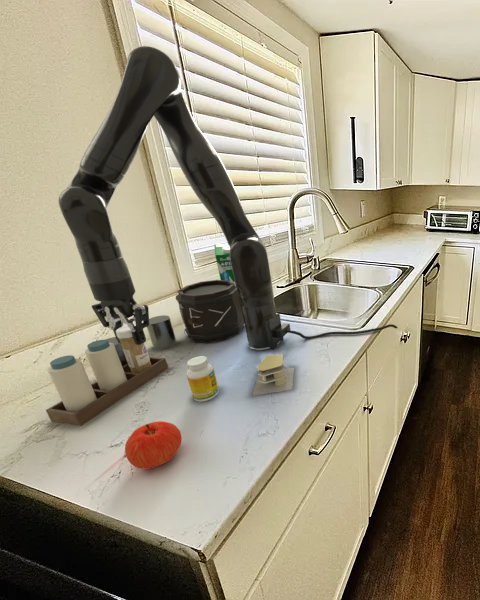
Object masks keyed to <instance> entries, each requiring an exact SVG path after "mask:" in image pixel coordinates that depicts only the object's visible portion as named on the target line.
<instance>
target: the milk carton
mask: <svg viewBox="0 0 480 600" xmlns="http://www.w3.org/2000/svg"><path fill="white" fill-rule="evenodd" d="M213 246H214V247H213V248H214V256H215V260H216V261H215V262H216V266H217V270H218V274H219V278H220V279H219V280H228V281H231V282H232V283H234V285H235V286H236V284H235V280H234V275H233V271H232V266H231V261H230V247H229V244H228V242H227V243H217V244H214V245H213Z"/></svg>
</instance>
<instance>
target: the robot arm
mask: <svg viewBox="0 0 480 600" xmlns="http://www.w3.org/2000/svg"><path fill="white" fill-rule="evenodd" d="M180 76H181V75H180V73H179V70H178V67H177V66H176V64H175V63H174V61H173V60H172V58H170V56H168V54H166V53H165V52H163V51H162V50H161V49H158V48H156V47H154V46H150V45H149V46H148V45H143V46H142V45H141V46H138V47H135V48H134V49H132V50H131V51H130V52H129V53H128V56H127V59H126V64H125V68H124V72H123V76H122V79H121V82H120V85H119V88H118V91H117V93H116V96H115V98H114V100H113V102H112V105H111V107H110V108H109V110H108V112H107V114H106V116H105V117H104V118H103V121H102V122H101V124H100V126H99V128H98V129H97V131H96V133H95V134H94V136H93V137H92V139H91V141H90V143H89V144H88V146H87V148H86V150H85V151H84V152H83V155H82V157H81V158H80V162H79V166H78V169H77V171H76V173H75V175H74V176H73V178H72V179H71V181H70V182H69V184H68V185H67V187H66V189H64V190H62V191H61V192H60V194H59V196H58V200H57V201H58V206H59V209H60V212H61V215H62V217H63V219H64V221H65V223H66V225H67V227H68V229H69V230H70V232H71V234H72V237H73V238H74V242H75V246H76V249H77V252H78V255H79V257H80V260H81V262H82V267H83V272H84V274H85V277H86V280H87V282H88V286H89V288H90V291H91V293H92V296H93V298H94V300H95V301H97V302H98V303H95V304H92V305H91V309H92V310H93V312H94V313H95V316H97V319H98V320H99V321H100V324H101V325H102V326H103V327H104V328H109V329H110V330H111V331H112V332H113V334H114V337H116V339H117V341H118V343H121V342H120V340H119V338H118V337H117V334H116V330H117V329H118V328H120V327H123V326H124V325H128V326H129V328H130V330H131V331H132V332H131V333H132V335H133V338H134V341H135V344H136V345H141V344H142V343H144V344H145V343H146V342H147V337H146V334H145V331H144V329H145V328H147V326H149V319H150V316H149V315H150V312H149V306H148V305H147V304H143V305H141V304H138V303H137V301H136V300H135V299H134V295H135V293H136V288H135V286H134V283H133V279H132V276H131V274H130V273H131V272H130V271H129V267H128V264H127V263H126V260H125V258H124V256H123V252H122V250H121V246H120V245H119V241H118V238H117V237H116V235H115V233H114V232H113V229H112V225H111V221H110V217H109V214H108V211H107V208H108V206H109V204H110V202H111V199H112V198H113V195H114V193H115V191H116V188H118V185H119V184H120V183H121V182H122V181H123V179H124V178H125V176H126V175H127V173H128V171H129V169H130V167H131V165H132V164H133V161H134V160H135V158H136V155H137V153H138V151H139V148H140V146H141V144H142V141H143V138H144V136H145V133H146V131H147V128H148V126H149V125H150V123H151V121H152V119H153V117H154V118H155V121H157V123H158V124H159V126H160V128H161V129H162V131H163V133H164V135H165V137H166V139H167V142H168V144H169V147H170V149H171V151H172V154H173V156H174V158H175V160H176V162H177V164H178V165H179V166H178V167H180V169H181V171H182V174H183V175H184V177H185V179H186V180H187V182H188V184H189V186H190V187H191V189H192V191H193V193H194V194H195V195H196V197H197V198H198V200H199V201H200V203H202V205H203V206H204V208H205V209H206V210H207V211H208V213H210V215H211V217H212V218H214V220H215V221H216V222H217V224H218V226H219V228H220V230H221V231H222V233H223V235H224V237H225V240H226V242H227V243H228V244H229V247H230V261H231V266H232V271H233V275H234V280H235V284H236V287H237V290H238V295H239V300H240V305H241V310H242V315H243V320H244V324H243V325H244V329H245V334H246V338H247V343H248V344H247V345H248V349H249V350H250V351H252V352H266V351H274V350H276V349H277V348H278V347H279V346H280V345H281V344H282V343H283V342H284V341H285V339H284V337H285V336H286V335H287V334H292V335H296V336H299V337H301V338H302V339H303V340H304V339H305V340H312V339H317V338H321V337H325V336H330V335H359V334H367V333H371V332H376V331H382V330H385V329H387V328H394V329H398V326H397V325H395V324H391V323H390V324H386V325H383V326H380V327H375V328H371V329H364V330H357V331H329V332H328V331H327V332H323V333H320V334H316V335H311V336H310V335H309V336H308V335H304V334H303V333H302V332H299V331H295V330H291V324H290V323H285V322H284V323H282V320H281V314H280V313H279V312H277V308H276V302H275V295H274V289H273V288H274V287H273V282H272V276H271V269H270V263H269V256H268V252H267V247H266V245H265V243H264V242H263V240H262V238H260V236H259V235H258V233H257V231H256V230H255V228H254V226H253V225H252V224H251V222H250V220H249V218H248V217H247V215H246V213H245V211H244V208H243V206H242V203H241V201H240V197H239V196H238V192H237V191H236V188H235V186H234V184H233V181H232V179H231V177H230V175H229V173H228V171H227V169H226V167H225V165H224V164H223V162H222V160H221V158H220V156H219V154H218V153H217V151H216V150H215V149H214V147H213V146H212V144H211V143H210V141H209V140H208V139H207V137H206V136H205V134H204V133H203V132H202V131H201V129H200V128H199V127H198V125H197V122H196V121H195V120H194V117H193V116H192V113H191V111H190V108H189V107H188V105H187V102H186V100H185V98H184V95H183V92H182V89H181V77H180ZM134 322H135V324H136V326H134Z"/></svg>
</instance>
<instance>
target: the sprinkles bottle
mask: <svg viewBox="0 0 480 600" xmlns="http://www.w3.org/2000/svg"><path fill="white" fill-rule="evenodd" d="M133 324H134V323H133ZM134 326H136V323H135V324H134ZM131 332H132V331H131V330H130V328H129V326H128V325H127V324H125V325H123V326H122V327H120V328H118V329H117V330H116V334H117V337H118V338H119V340H120V342H121V345H122V348H123V351H124V354H125V357H126V359H127V362H128V365H129V367H130V369H131V372H132V373H140V372H142V371H144V370H145V369H147V368H149V367H150V366H152V365H151V362H150V358H149V357H150V355H149V352H148V350H147V347H146V345H145V342H144V343H142V344H141V345H136V344H135V341H134V338H133V335H132V333H131Z"/></svg>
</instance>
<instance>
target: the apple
mask: <svg viewBox="0 0 480 600" xmlns="http://www.w3.org/2000/svg"><path fill="white" fill-rule="evenodd" d="M182 439H183V436H182V432H181V430H180V429H179V428H178V427H177V426H176V425H175V424H174V423H171V422H168V421H161V420H160V421H153V422H148V423H146V424H143V425H141V426H139V427H137V428H136V429H135V430H134V431H132V433H131V434H130V436H129V437H128V439H127V440H126V442H125V446H124V454H125V457H126V460H127V461H128V463H130V465H132V466H133V467H135V468H136V469H140V470H141V469H142V470H147V469H148V470H149V469H154V468H157V467H160V466H162V465H164V464H166V463H167V462H169V461H170V460H172V459H173V458H174V457H175V456H176V454H177V453H178V451H179V449H180V448H181V445H182V441H183V440H182Z"/></svg>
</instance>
